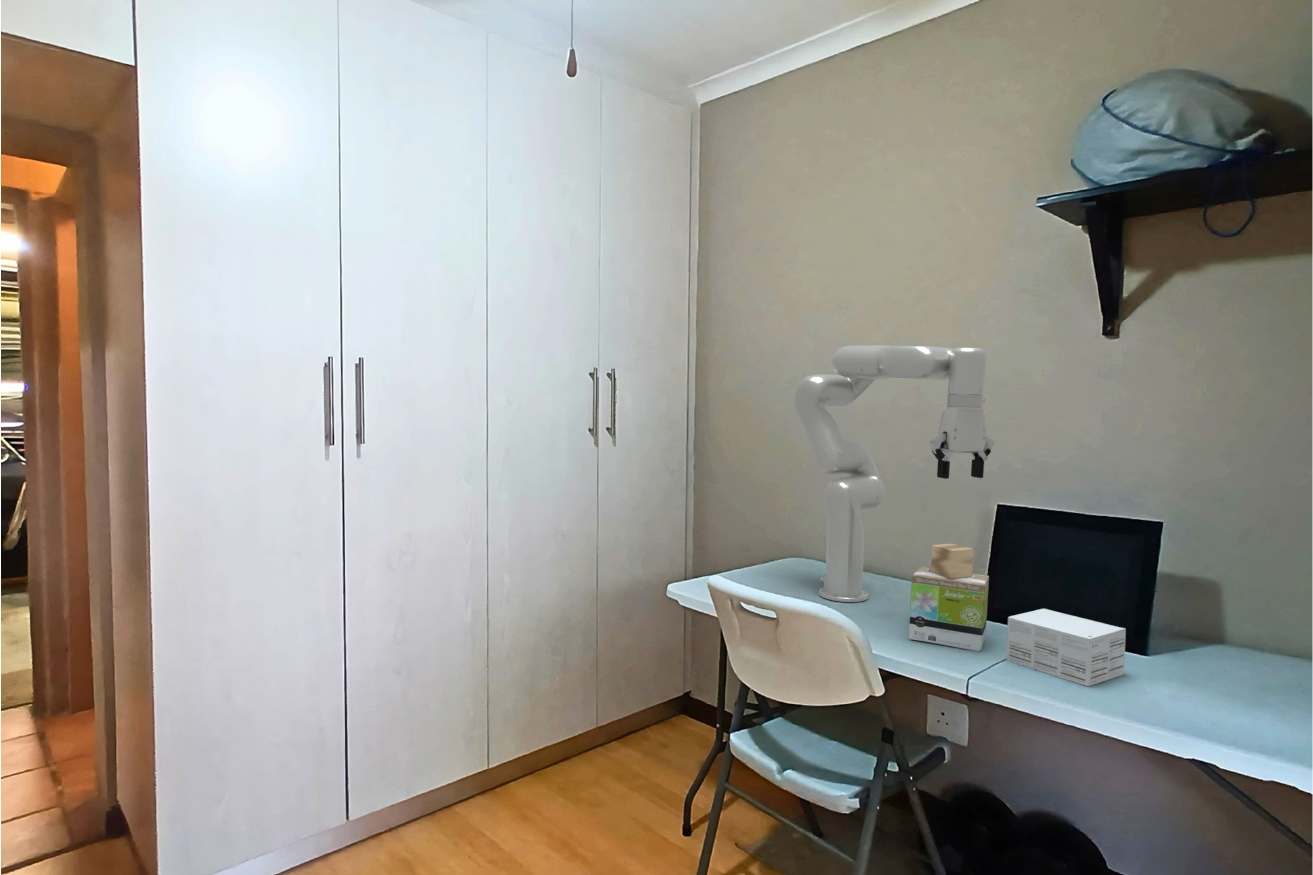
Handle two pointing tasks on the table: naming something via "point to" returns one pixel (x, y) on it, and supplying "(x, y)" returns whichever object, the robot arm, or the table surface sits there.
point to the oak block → (952, 560)
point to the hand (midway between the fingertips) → (960, 477)
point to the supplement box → (1066, 646)
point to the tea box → (948, 609)
